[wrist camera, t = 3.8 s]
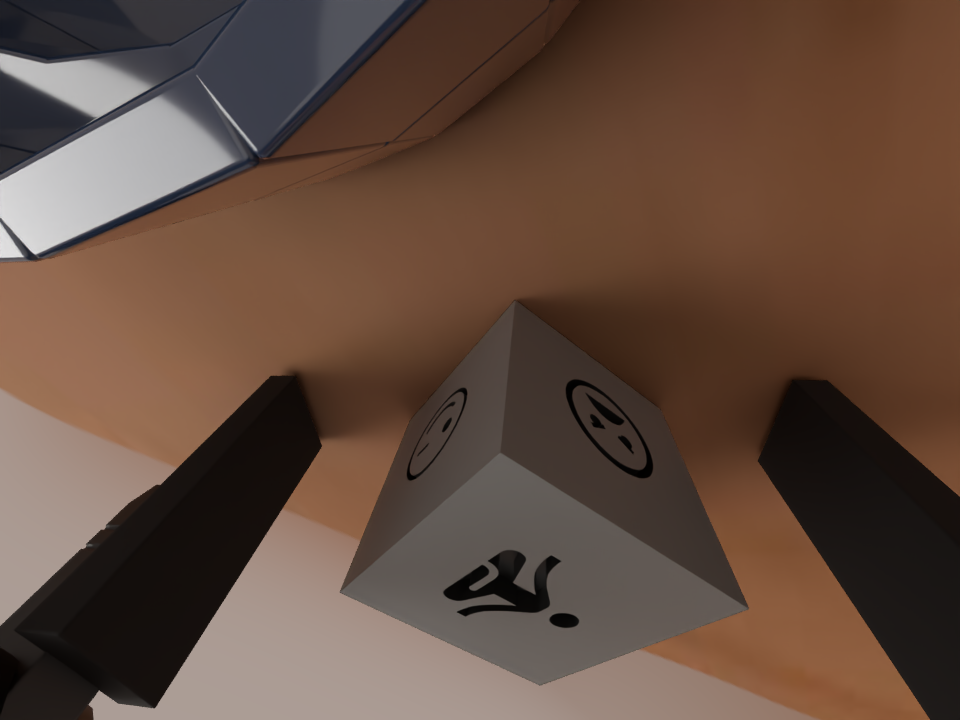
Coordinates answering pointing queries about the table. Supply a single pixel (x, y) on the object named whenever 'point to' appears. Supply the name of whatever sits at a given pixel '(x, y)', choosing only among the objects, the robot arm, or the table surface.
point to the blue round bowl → (226, 101)
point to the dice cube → (541, 514)
